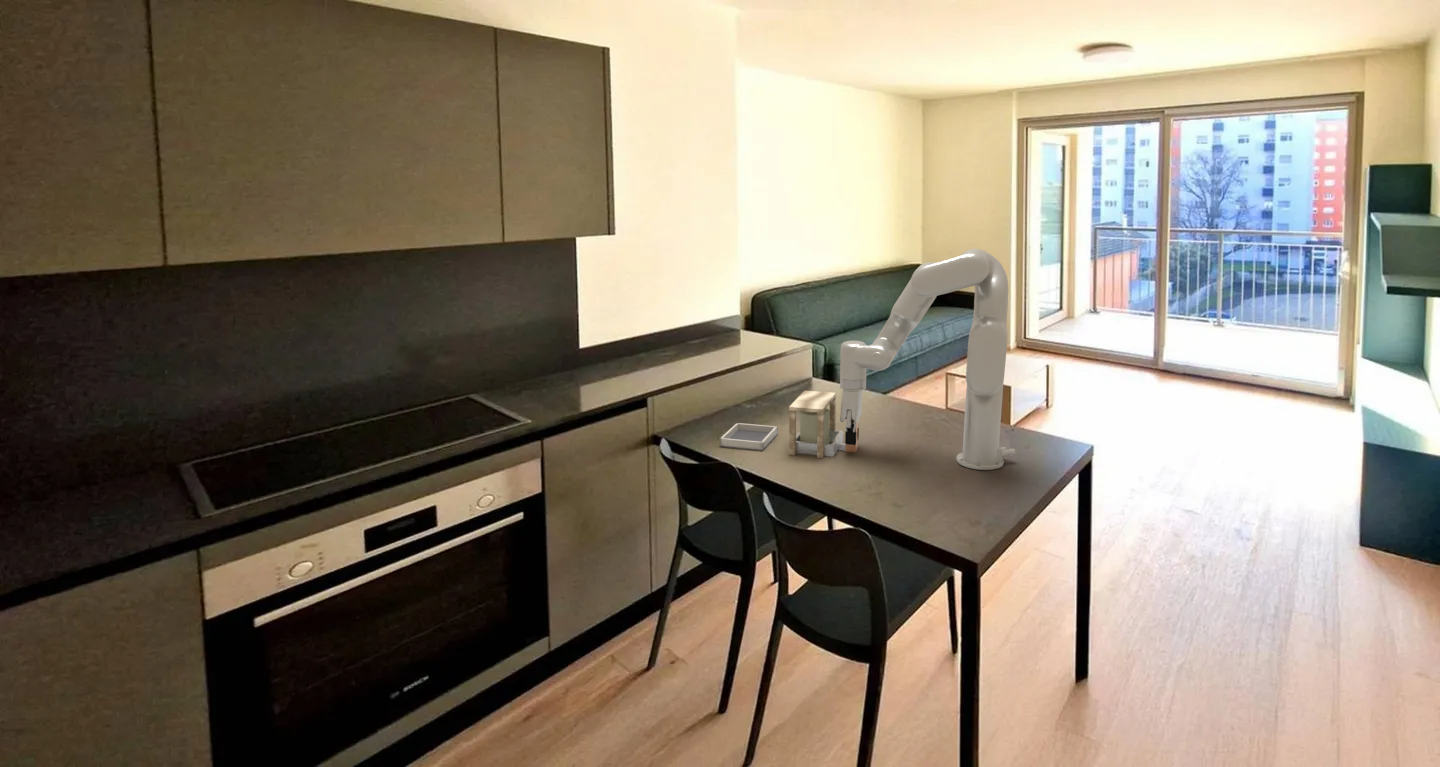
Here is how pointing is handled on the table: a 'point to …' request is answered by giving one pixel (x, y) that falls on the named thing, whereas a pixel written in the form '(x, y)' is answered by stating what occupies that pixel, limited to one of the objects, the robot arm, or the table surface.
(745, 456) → the table surface
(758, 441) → the tray
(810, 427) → the can
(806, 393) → the wooden stool
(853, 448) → the shallow grey tray
